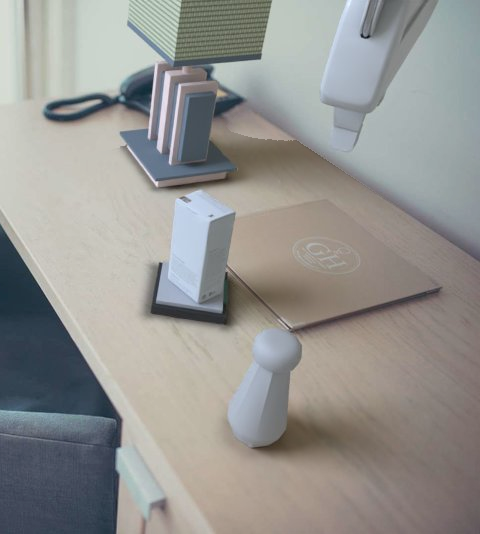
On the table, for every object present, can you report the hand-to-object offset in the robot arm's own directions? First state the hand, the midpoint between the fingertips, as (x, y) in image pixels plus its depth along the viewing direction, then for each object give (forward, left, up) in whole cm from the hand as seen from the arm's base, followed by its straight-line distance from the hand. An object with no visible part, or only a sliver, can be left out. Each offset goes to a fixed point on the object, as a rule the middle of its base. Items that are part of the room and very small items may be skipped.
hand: (356, 123), depth 51 cm
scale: (+10, -13, -31) cm, 35 cm away
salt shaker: (+2, +7, -31) cm, 32 cm away
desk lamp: (+15, -48, -31) cm, 59 cm away
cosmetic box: (+10, -13, -30) cm, 34 cm away
